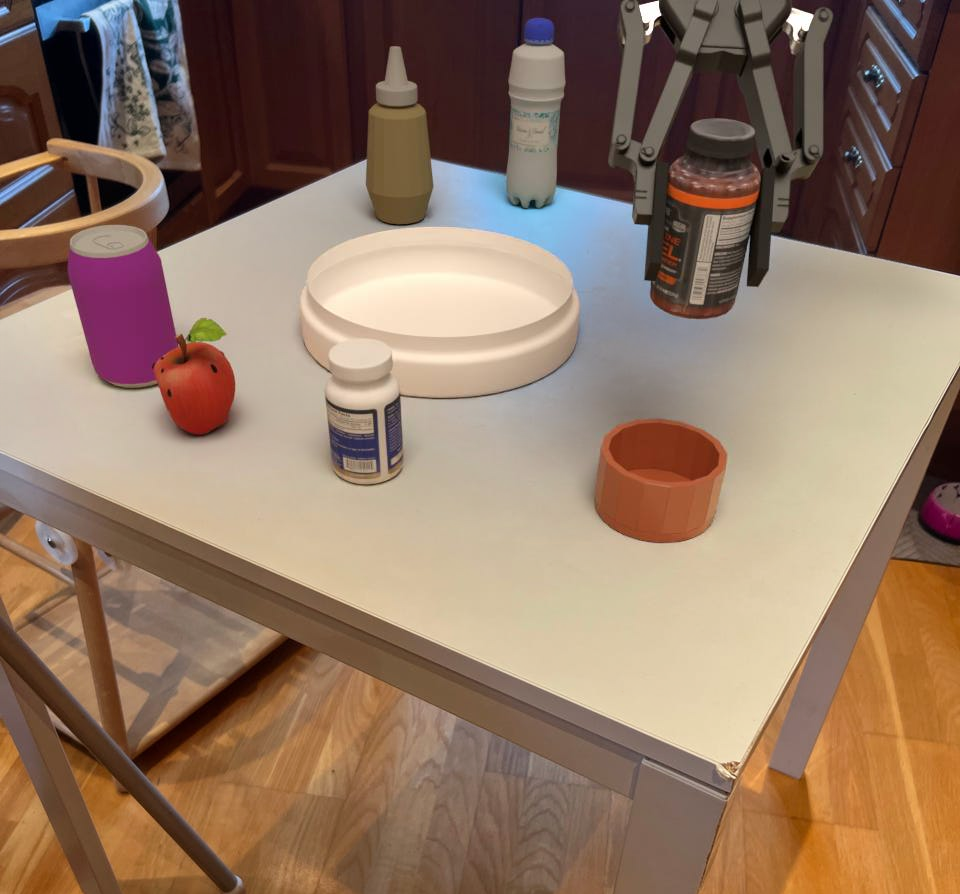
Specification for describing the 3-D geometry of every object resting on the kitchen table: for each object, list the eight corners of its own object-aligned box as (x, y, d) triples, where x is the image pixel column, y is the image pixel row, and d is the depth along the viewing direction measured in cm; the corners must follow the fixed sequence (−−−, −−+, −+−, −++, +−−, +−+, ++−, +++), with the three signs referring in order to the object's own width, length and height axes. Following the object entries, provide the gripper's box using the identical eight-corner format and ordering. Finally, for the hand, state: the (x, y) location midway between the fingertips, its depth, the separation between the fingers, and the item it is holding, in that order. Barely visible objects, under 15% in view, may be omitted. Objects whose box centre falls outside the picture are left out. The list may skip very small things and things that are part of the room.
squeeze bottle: (443, 225, 116) (442, 53, 104) (378, 232, 114) (370, 58, 102) (421, 202, 122) (418, 37, 109) (359, 209, 119) (349, 41, 107)
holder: (718, 483, 78) (730, 428, 74) (709, 551, 71) (722, 495, 68) (604, 465, 79) (611, 411, 76) (585, 531, 72) (592, 474, 69)
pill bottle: (378, 440, 81) (372, 327, 74) (417, 471, 78) (414, 356, 71) (318, 462, 78) (306, 347, 71) (356, 495, 75) (347, 378, 68)
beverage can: (199, 373, 88) (174, 240, 80) (123, 401, 84) (88, 264, 76) (155, 344, 92) (126, 214, 84) (80, 369, 88) (42, 236, 80)
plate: (470, 256, 110) (471, 206, 106) (633, 349, 94) (641, 294, 90) (254, 313, 98) (246, 259, 94) (400, 430, 82) (398, 371, 78)
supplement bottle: (633, 291, 68) (656, 116, 61) (706, 281, 70) (739, 109, 62) (673, 328, 64) (704, 145, 57) (750, 316, 66) (791, 136, 58)
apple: (146, 442, 80) (118, 327, 73) (180, 401, 85) (156, 290, 78) (235, 453, 79) (215, 337, 72) (264, 411, 84) (248, 299, 77)
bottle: (497, 207, 121) (503, 21, 107) (511, 190, 126) (519, 9, 112) (549, 214, 120) (562, 26, 106) (561, 196, 124) (576, 14, 111)
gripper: (856, -28, 66) (835, 306, 65) (579, -41, 67) (555, 289, 66) (900, -118, 59) (876, 259, 58) (587, -131, 59) (560, 241, 59)
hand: (705, 274), depth 62 cm, fingers closed on supplement bottle, 6 cm apart
